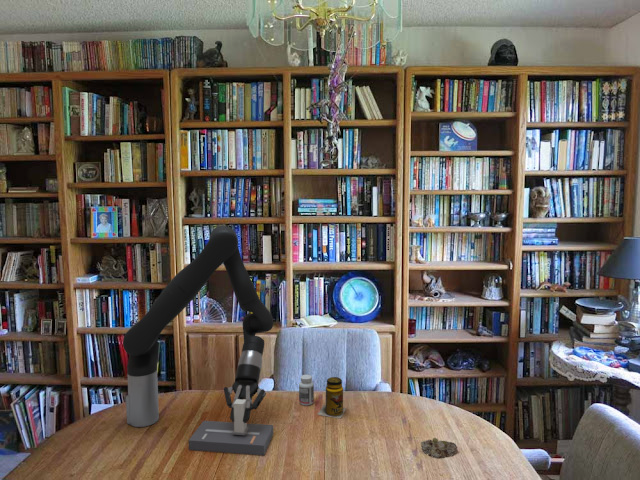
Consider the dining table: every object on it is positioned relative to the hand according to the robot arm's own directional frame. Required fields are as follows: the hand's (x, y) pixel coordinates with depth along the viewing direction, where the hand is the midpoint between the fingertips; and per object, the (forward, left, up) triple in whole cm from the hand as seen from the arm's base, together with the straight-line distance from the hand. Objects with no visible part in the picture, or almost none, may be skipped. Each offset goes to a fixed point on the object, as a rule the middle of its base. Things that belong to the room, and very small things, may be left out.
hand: (238, 421), depth 140 cm
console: (-3, +2, -7) cm, 8 cm away
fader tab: (0, +2, -4) cm, 4 cm away
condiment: (+26, +25, -8) cm, 36 cm away
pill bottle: (+16, +31, -8) cm, 35 cm away
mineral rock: (+60, +4, -8) cm, 61 cm away
